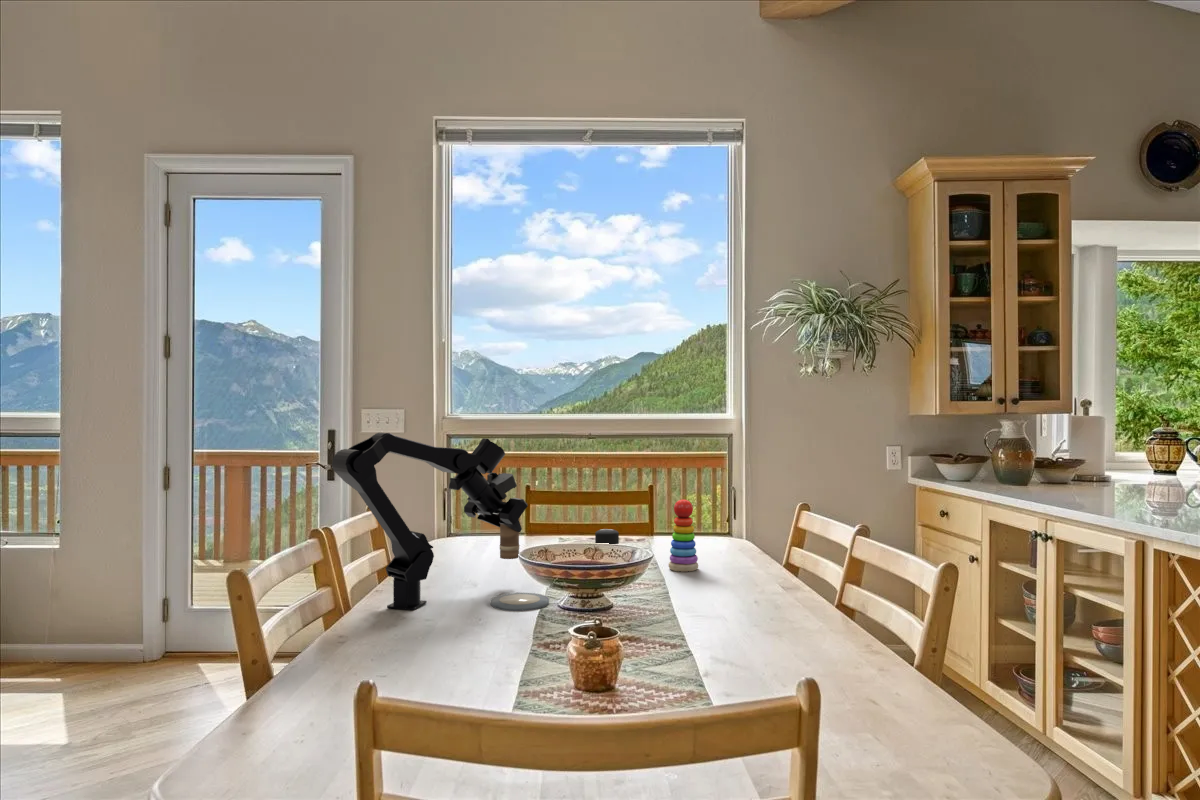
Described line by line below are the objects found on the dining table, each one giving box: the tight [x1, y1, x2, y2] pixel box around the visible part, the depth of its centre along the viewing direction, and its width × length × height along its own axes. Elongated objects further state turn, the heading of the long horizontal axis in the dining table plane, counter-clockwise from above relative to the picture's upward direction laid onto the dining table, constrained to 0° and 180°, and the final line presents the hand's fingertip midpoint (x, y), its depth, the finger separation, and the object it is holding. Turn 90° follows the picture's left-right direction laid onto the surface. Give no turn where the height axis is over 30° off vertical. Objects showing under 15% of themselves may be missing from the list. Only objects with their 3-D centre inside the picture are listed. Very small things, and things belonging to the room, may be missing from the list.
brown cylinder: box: [499, 519, 520, 560], centre depth 198 cm, size 5×5×11 cm
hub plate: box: [489, 592, 550, 612], centre depth 181 cm, size 13×13×1 cm
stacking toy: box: [668, 499, 699, 573], centre depth 217 cm, size 8×8×19 cm
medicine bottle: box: [594, 528, 620, 545], centre depth 207 cm, size 7×7×12 cm
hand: (514, 529), depth 199 cm, fingers closed on brown cylinder, 5 cm apart
